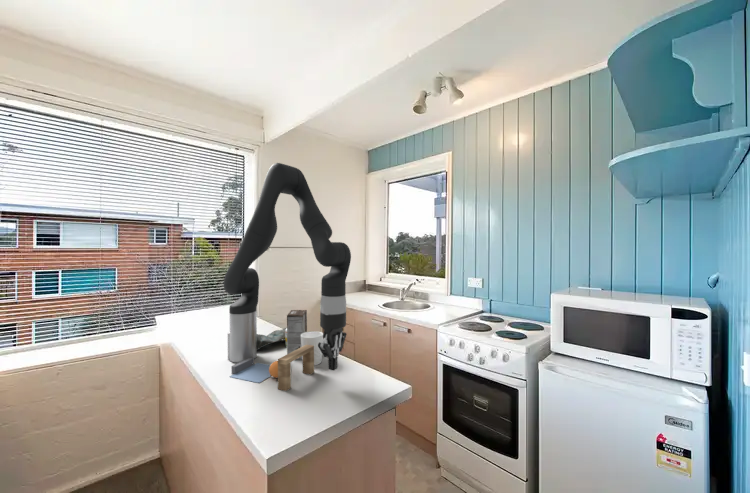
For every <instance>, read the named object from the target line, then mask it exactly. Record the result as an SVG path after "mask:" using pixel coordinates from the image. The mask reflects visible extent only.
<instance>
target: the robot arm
mask: <svg viewBox="0 0 750 493" xmlns="http://www.w3.org/2000/svg"><path fill="white" fill-rule="evenodd" d="M281 194H285V195H291V196H292V197H293V199H295V201H296V202H297V204H298V206H299V220H300V223H301V226H302V228H303V229H304V231H305V232H306V234H307V235H308V237H309V239H310V242H311V246H312V250H313V254H314V257H315V260H317V262H318V263H319V264H320V265H321V266H323V267H330V270H329V272H328V273H327V274H325V275H323V276H322V278H321V282H320V284H321V291H320V294H321V296H320V304H319V307H320V309H319V310H320V311H319V312H320V315H319V316H320V317H319V321H320V322H319V323H320V324H319V325H320V327H321V328H322V330H323V332H322V333H323V341H322V343H320V342H319V343H318V347H319V349H320V351H321V352H322V357H324V358H327V359H328V361H327V362H328V363H327V364H328V370H330V371H336V370H337V369H338V357H339V354H340V353H341V352H342V351H343V347H344V345H345V341H346V339H347V332H344V331H343V328H345V327H346V326H347V299H346V298H347V296H346V290H347V289H346V288H347V287H346V281H347V277H348V274H349V270H350V265H351V261H352V254H351V249H350V248H349V247H350V246H348V244H346V243H344V242H341V241H340V242H339V241H338V242H337V241H334V242H333V241H331V240H330V238H332V236H333V229H332V227H331V225H330V224H329V223H328V221H327V219H326V217H325V216H324V215H323V213H322V212H321V210H320V209H319V207H318V205H317V203H316V201H315V198H314V196H313V193H312V191H311V188H310V186H309V184H308V181H307V179H306V177H305V175H304V173H303V172H302V171H301V169H300V168H297V167H295V166H291V165H288V164H285V163H282V162H274V163H272V165H271V166H270V167H269V169H268V171H267V173H266V175H265V177H264V182H263V184H262V188H261V192H260V195H259V198H258V201H257V204H256V207H255V210H254V212H253V215H252V217H251V219H250V222H249V224H248V225H247V228H246V230H245V233H244V236H243V239H242V241H241V243H240V245H239V248H238V250H237V252H236V254H235V256H234V258H233V260H232V262H231V263H230V265H229V267H228V269H227V270H226V273H225V275H224V278H223V289H224V291H225V293H226V294H228V295H232V296H233V295H240V297H239V298H238V299H237V300H236V301H235V302H232V303H231V304H230V305H229V332H227V360H229V361H230V362H231V363H240V362H242V361H244V360H247V359H249V358H254V360H255V359H256V358H257V355H258V350H257V334H258V333H257V332H258V331H257V329H258V327H257V322H258V320H257V313H258V312H257V307H258V305H259V304H258V303H259V294H260V293H259V291H260V278H259V274H258V272H257V270H256V269H255V268H253V267H250V266H251V265H252V264H253V263H254V262H255V261H256V260H257V259H258V258H260V257H261V256H262V255H263V254H264V253H265V252H266V251H267V250H268V249H269V248H270V246H271V245H272V244H273V242H274V238H275V236H276V234H277V231H278V221H277V216H276V205H277V202H278V199H279V196H280V195H281Z"/></svg>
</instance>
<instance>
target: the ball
mask: <svg viewBox="0 0 750 493" xmlns="http://www.w3.org/2000/svg"><path fill="white" fill-rule="evenodd" d="M269 365H270V367H269V373H270V375H271V377H272V378H274V379H278V360H274V361H273V362H272V363H271V364H269Z"/></svg>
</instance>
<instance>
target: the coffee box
mask: <svg viewBox="0 0 750 493" xmlns="http://www.w3.org/2000/svg"><path fill="white" fill-rule="evenodd" d="M307 312H308V311H307V309H291V310H290V311H289V312H288V313H287V314H286V328H287V347H286V355H287V354H289V353H291V352H293V351H295V350H297V349H299V348H301V334H302V333H305V332H308V319H307V318H308V317H307V315H308V313H307ZM298 359H302V356H301V357H299V358H298Z"/></svg>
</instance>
